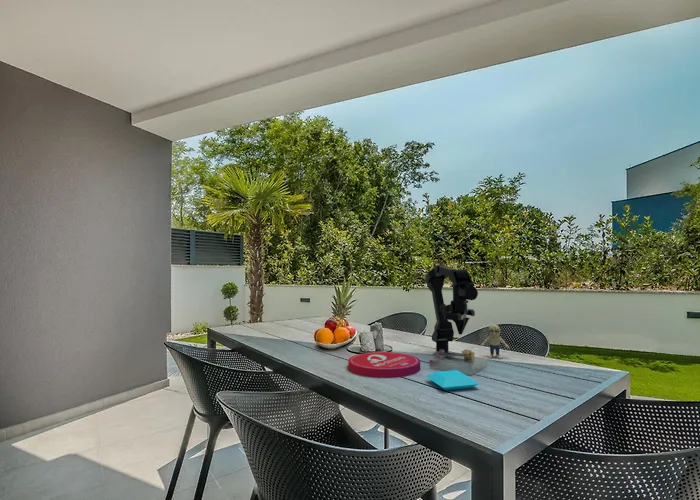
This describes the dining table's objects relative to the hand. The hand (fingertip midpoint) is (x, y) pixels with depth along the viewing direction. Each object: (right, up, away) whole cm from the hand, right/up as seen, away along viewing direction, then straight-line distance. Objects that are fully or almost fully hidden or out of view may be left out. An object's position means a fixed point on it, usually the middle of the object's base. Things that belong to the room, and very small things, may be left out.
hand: (460, 334), depth 176 cm
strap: (-5, -7, -9) cm, 12 cm away
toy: (+18, -13, +9) cm, 24 cm away
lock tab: (0, -8, -11) cm, 13 cm away
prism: (-11, -12, -31) cm, 35 cm away
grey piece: (-3, -12, -7) cm, 14 cm away
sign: (-33, -13, -5) cm, 36 cm away
